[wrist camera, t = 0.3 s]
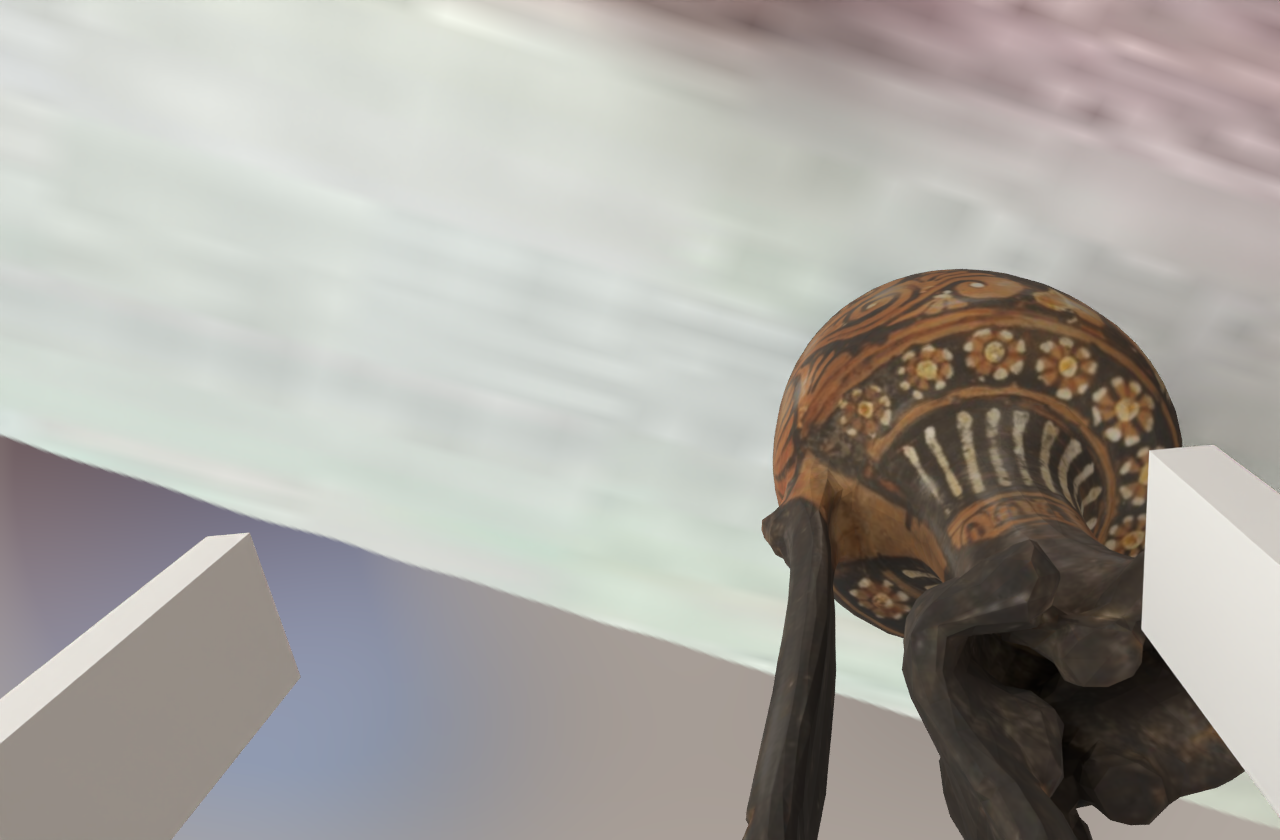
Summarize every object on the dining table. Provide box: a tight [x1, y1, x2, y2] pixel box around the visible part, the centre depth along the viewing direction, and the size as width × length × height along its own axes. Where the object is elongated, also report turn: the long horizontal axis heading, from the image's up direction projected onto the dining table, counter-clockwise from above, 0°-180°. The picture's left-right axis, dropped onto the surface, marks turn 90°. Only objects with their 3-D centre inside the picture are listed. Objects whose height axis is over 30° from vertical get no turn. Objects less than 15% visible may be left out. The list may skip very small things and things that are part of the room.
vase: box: [742, 269, 1245, 840], centre depth 24 cm, size 12×12×30 cm
